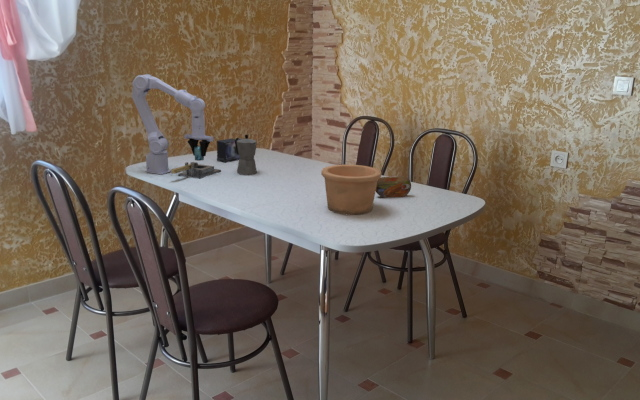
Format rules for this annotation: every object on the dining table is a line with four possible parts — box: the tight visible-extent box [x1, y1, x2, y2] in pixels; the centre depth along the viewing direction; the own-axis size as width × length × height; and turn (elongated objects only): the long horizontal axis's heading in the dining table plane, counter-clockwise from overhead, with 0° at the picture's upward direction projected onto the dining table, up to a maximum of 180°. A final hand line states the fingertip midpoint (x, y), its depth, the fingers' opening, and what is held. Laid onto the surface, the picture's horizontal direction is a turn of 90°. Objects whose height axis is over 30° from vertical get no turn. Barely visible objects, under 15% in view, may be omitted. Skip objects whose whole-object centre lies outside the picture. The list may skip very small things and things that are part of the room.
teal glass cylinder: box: [194, 145, 205, 162], centre depth 248 cm, size 4×4×6 cm
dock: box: [177, 161, 222, 179], centre depth 250 cm, size 12×16×6 cm
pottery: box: [320, 164, 382, 216], centre depth 201 cm, size 22×22×14 cm
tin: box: [375, 175, 412, 199], centre depth 219 cm, size 15×3×8 cm, turn 105°
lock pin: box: [170, 161, 199, 175], centre depth 239 cm, size 3×16×2 cm, turn 156°
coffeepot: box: [235, 134, 258, 176], centre depth 252 cm, size 15×9×18 cm, turn 44°
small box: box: [216, 138, 240, 163], centre depth 278 cm, size 11×6×10 cm, turn 143°
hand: (199, 155), depth 248 cm, fingers closed on teal glass cylinder, 4 cm apart
